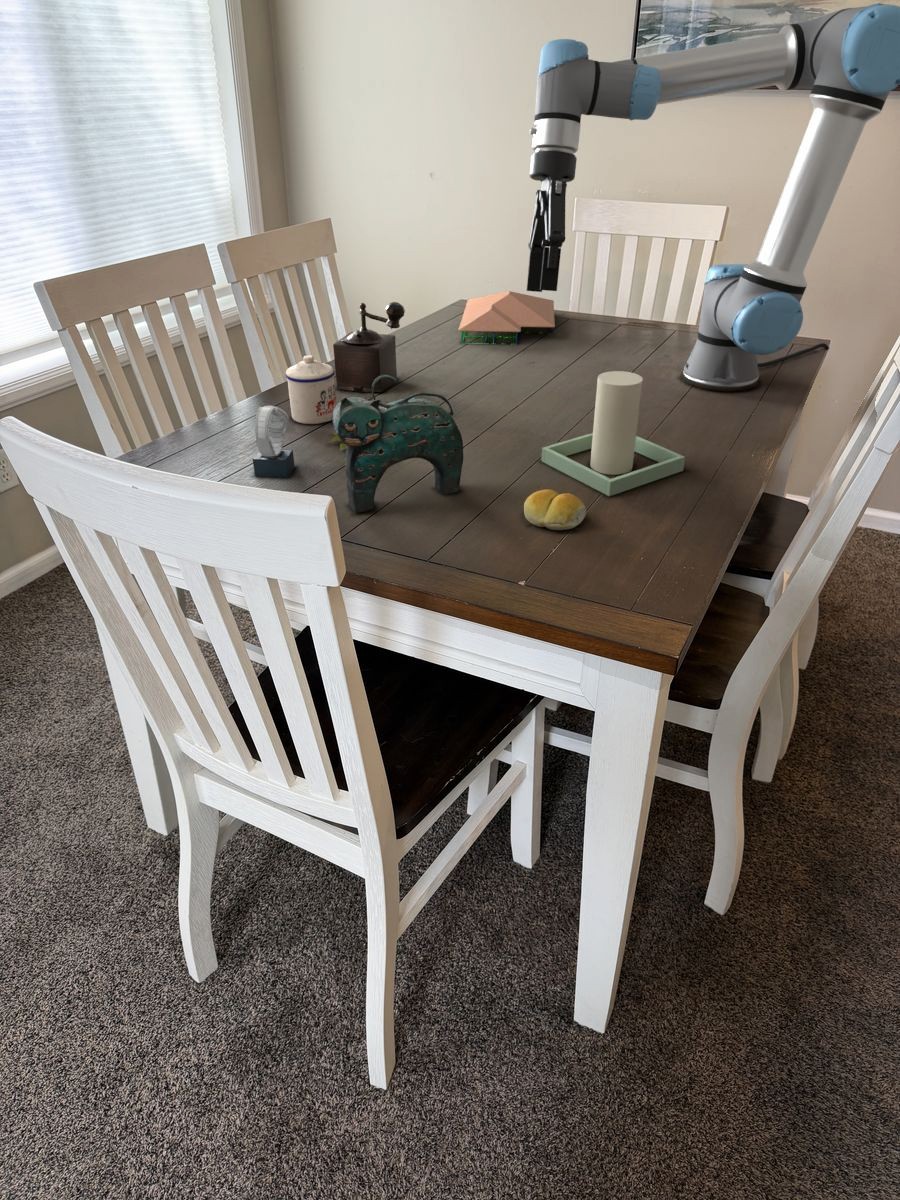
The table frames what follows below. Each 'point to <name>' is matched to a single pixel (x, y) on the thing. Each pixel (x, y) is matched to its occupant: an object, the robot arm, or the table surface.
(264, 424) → the watch
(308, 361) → the teacup with lid
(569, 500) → the bread roll
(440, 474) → the ceramic cat
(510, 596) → the table surface
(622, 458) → the pillar candle
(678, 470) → the green square frame
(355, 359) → the manual coffee grinder
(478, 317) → the house
